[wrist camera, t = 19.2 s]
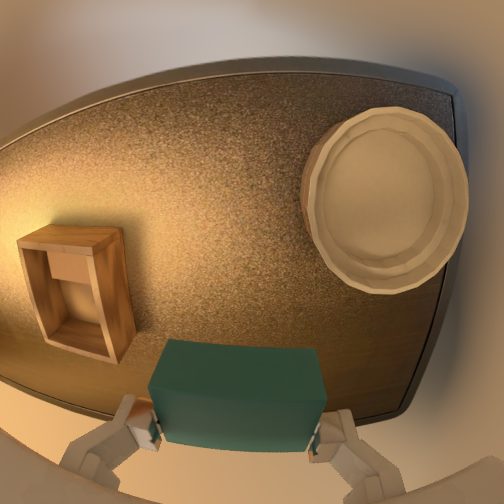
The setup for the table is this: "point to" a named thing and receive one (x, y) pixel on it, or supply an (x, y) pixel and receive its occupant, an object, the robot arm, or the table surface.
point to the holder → (81, 291)
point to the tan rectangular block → (69, 267)
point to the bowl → (385, 199)
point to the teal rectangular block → (238, 396)
